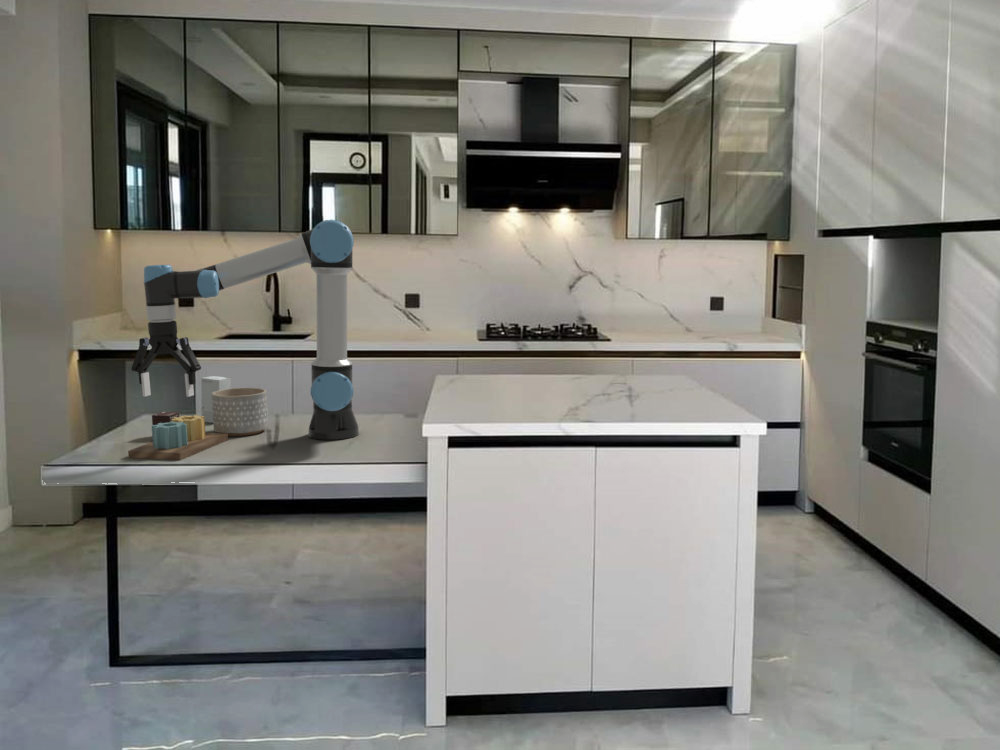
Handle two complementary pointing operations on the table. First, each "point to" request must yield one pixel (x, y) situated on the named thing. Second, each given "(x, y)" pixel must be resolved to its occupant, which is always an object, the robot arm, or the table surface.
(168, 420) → the box
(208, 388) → the skincare box
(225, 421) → the planter
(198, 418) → the gear out
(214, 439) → the gear board
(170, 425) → the gear
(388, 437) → the table surface
